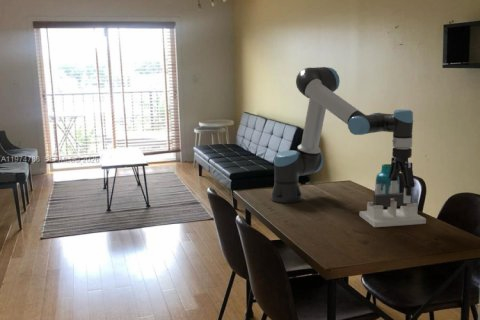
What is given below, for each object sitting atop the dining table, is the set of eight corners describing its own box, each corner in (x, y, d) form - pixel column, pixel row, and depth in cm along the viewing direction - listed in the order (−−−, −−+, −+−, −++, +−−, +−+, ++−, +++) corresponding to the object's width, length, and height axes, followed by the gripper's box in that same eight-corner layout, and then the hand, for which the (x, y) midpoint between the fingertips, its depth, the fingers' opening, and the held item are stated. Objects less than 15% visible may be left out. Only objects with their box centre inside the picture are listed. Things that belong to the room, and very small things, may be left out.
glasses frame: (373, 206, 208) (373, 194, 208) (408, 203, 211) (408, 192, 210) (375, 207, 206) (376, 195, 205) (411, 205, 208) (411, 193, 207)
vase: (390, 210, 223) (391, 168, 219) (370, 205, 230) (371, 165, 227) (403, 205, 229) (404, 164, 226) (383, 201, 237) (384, 162, 234)
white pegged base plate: (359, 215, 216) (359, 196, 214) (407, 212, 219) (407, 193, 217) (374, 227, 200) (375, 206, 199) (425, 223, 203) (426, 203, 202)
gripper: (381, 143, 215) (379, 192, 219) (407, 152, 192) (405, 207, 196) (397, 143, 216) (395, 191, 220) (425, 151, 193) (422, 206, 197)
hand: (400, 199), depth 208 cm, fingers open, 11 cm apart
